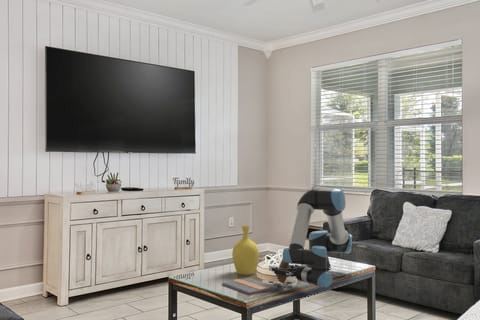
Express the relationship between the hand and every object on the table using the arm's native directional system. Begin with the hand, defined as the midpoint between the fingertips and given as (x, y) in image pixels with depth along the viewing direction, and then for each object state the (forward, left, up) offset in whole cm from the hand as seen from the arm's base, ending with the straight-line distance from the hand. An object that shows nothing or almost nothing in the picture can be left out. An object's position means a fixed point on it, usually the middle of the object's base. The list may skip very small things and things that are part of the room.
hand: (276, 266), depth 251 cm
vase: (0, -27, -9) cm, 29 cm away
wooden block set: (-1, +6, -6) cm, 8 cm away
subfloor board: (+18, -1, -9) cm, 20 cm away
